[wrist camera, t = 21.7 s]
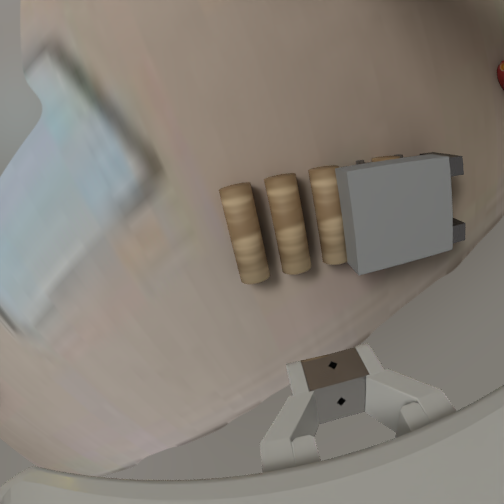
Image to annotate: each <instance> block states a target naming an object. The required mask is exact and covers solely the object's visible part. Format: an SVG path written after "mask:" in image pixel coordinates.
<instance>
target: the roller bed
mask: <svg viewBox="0 0 504 504" xmlns="http://www.w3.org/2000/svg"><path fill="white" fill-rule="evenodd" d="M394 156H400V158H403V155H394ZM358 164H365V163H364V160H358V161H356V165H358ZM335 168H339V166H336V165H333V166H323V167H317V168H313V169H310V170H308V172H309V177H310V183H311V188H312V194H313V200H314V206H315V212H316V218H317V224H318V231H319V237H320V244H321V251H322V258H323V262H324V263H326V264H330V265H338V264H343V263H345V262H347V253H346V244H345V235H344V227H343V220H342V212H341V205H340V198H339V192H338V185H337V179H336V173H335ZM264 181H265V186H266V191H267V196H268V200H269V205H270V210H271V215H272V220H273V225H274V230H275V235H276V240H277V245H278V250H279V255H280V260H281V265H282V270H283V272H284V273H285V274H290V275H294V274H300V273H304V272H306V271H308V270H309V269H310V268H311V260H310V254H309V248H308V242H307V235H306V230H305V224H304V218H303V212H302V207H301V201H300V196H299V190H298V185H297V180H296V174H295V173H288V174H281V175H276V176H272V177H268V178H266V179H264ZM219 193H220V197H221V201H222V205H223V209H224V213H225V217H226V221H227V225H228V229H229V234H230V238H231V242H232V246H233V250H234V254H235V258H236V262H237V266H238V270H239V274H240V278H241V281H242V283H244V284H256V283H260V282H263V281H265V280H266V279H268V278H269V276H270V272H269V267H268V263H267V258H266V253H265V249H264V244H263V239H262V235H261V230H260V225H259V221H258V216H257V212H256V207H255V202H254V198H253V193H252V189H251V184H250V183H249V182H246V183H239V184H234V185H230V186H227V187H224V188H221V189H219Z"/></svg>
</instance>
